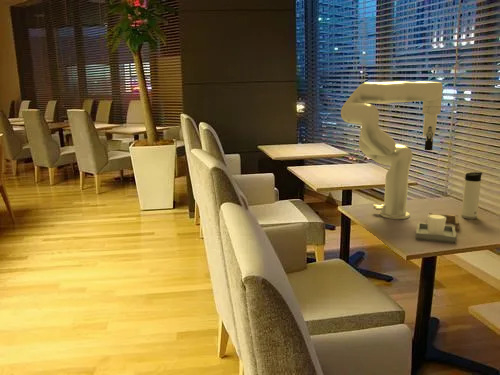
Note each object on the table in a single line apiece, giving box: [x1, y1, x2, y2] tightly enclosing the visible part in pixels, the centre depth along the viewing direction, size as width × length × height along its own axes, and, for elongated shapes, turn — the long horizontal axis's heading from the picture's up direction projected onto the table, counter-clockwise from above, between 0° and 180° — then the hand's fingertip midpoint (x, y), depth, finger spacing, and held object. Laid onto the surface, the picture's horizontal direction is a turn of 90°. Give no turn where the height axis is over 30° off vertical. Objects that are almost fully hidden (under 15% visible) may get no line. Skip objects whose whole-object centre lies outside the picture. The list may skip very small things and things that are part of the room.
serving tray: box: [415, 222, 457, 244], centre depth 185 cm, size 14×14×2 cm
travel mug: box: [461, 171, 483, 220], centre depth 206 cm, size 6×7×20 cm
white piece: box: [426, 213, 447, 235], centre depth 184 cm, size 7×7×7 cm
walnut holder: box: [428, 212, 460, 231], centre depth 198 cm, size 11×12×3 cm
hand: (428, 148), depth 216 cm, fingers open, 9 cm apart
